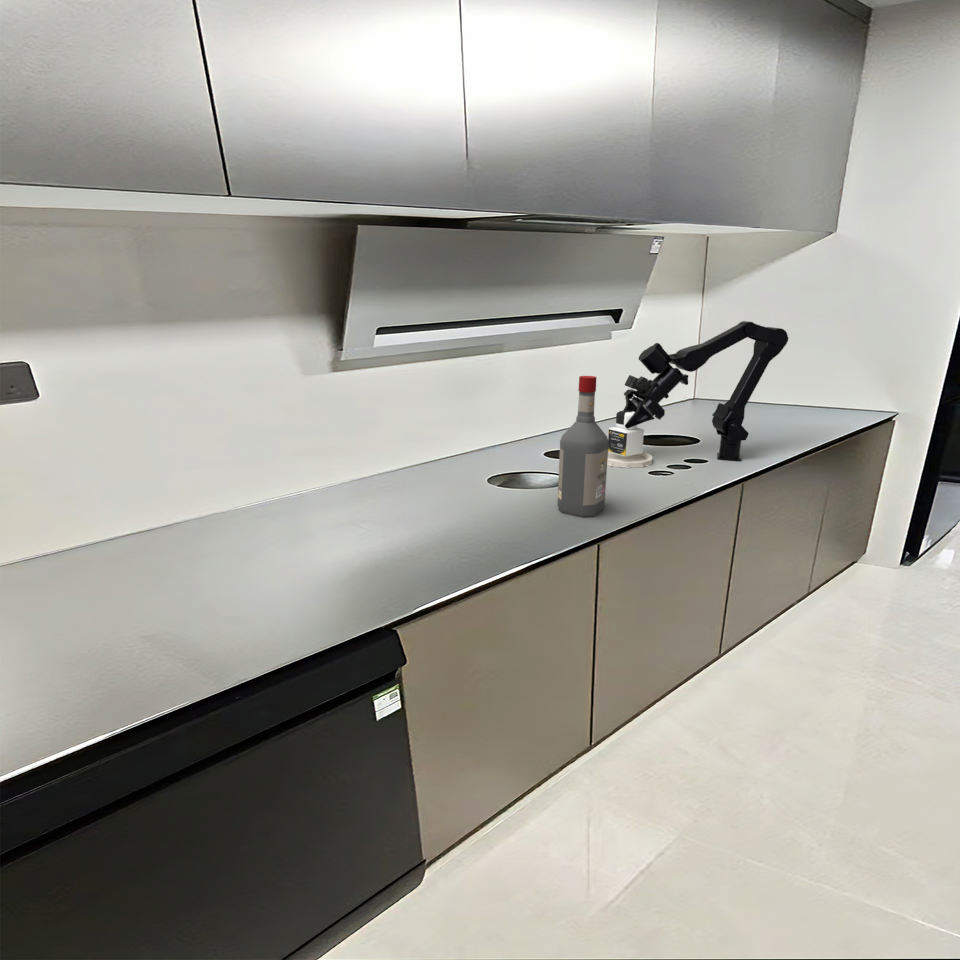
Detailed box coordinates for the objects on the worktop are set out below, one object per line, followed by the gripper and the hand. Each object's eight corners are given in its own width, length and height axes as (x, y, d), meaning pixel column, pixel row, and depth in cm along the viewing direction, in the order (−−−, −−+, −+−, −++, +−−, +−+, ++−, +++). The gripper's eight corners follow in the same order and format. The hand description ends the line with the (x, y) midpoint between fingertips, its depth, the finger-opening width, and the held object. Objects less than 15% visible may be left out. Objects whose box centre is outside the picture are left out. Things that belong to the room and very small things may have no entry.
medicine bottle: (607, 451, 192) (609, 410, 188) (624, 448, 196) (627, 408, 192) (625, 457, 186) (627, 414, 183) (642, 453, 190) (645, 412, 186)
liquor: (607, 508, 151) (616, 376, 142) (590, 519, 144) (598, 381, 135) (571, 500, 156) (578, 372, 147) (553, 511, 149) (558, 377, 140)
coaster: (599, 451, 201) (600, 447, 201) (654, 456, 196) (654, 451, 196) (591, 465, 187) (591, 459, 186) (649, 470, 182) (649, 465, 181)
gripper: (632, 361, 193) (593, 400, 195) (656, 369, 175) (614, 411, 177) (656, 387, 196) (618, 425, 198) (682, 398, 178) (640, 439, 180)
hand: (622, 424), depth 188 cm, fingers closed on medicine bottle, 6 cm apart
